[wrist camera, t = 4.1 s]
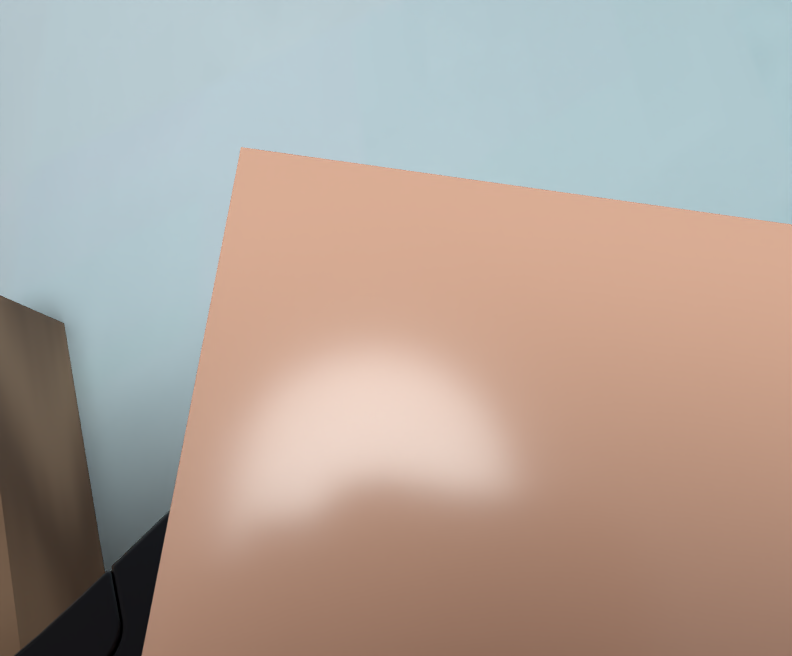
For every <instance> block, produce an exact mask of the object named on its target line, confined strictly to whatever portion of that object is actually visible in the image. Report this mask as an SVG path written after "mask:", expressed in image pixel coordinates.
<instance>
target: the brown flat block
mask: <svg viewBox="0 0 792 656" xmlns="http://www.w3.org/2000/svg"><path fill="white" fill-rule="evenodd" d="M104 573H105V571H104V564H103V558H102V552H101V546H100V540H99V534H98V528H97V522H96V516H95V509H94V503H93V497H92V491H91V485H90V479H89V473H88V467H87V461H86V454H85V448H84V442H83V436H82V430H81V424H80V418H79V412H78V406H77V399H76V393H75V387H74V381H73V375H72V369H71V363H70V357H69V351H68V345H67V338H66V332H65V326H64V323H62V322H60V321H57V320H55V319H53V318H51V317H48V316H46V315H44V314H41V313H39V312H37V311H35V310H32V309H30V308H28V307H25V306H23V305H21V304H19V303H16V302H14V301H12V300H9V299H7V298H5V297H3V296H0V656H14V655H15V654H16V653H17V652H18V651H20V650H21V649H22V648H23V647H24V646H25V645H27V644H28V643H29V642H30V641H31V640H33V639H34V638H35V637H36V636H37V635H38V634H40V633H41V632H42V631H43V630H44V629H45V628H46V627H47V626H48V625H49V624H50V623H52V622H53V621H54V620H55V619H56V618H57V617H58V616H59V615H60V614H61V613H62V612H64V611H65V610H66V609H67V608H68V607H69V606H70V605H71V604H72V603H73V602H74V601H76V600H77V599H78V598H79V597H80V596H81V595H82V594H83V593H84V592H85V591H86V590H87V589H88V588H89V587H90V586H91V585H92V584H93V583H94V582H96V581H97V580H98V579H99V578H100V577H101V576H102V575H103V574H104Z"/></svg>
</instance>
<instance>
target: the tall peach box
mask: <svg viewBox="0 0 792 656" xmlns="http://www.w3.org/2000/svg"><path fill="white" fill-rule="evenodd" d="M142 656H792V225H791V224H784V223H777V222H770V221H763V220H755V219H748V218H741V217H734V216H727V215H720V214H713V213H706V212H699V211H691V210H684V209H677V208H670V207H663V206H656V205H649V204H642V203H634V202H627V201H620V200H613V199H606V198H599V197H592V196H585V195H578V194H570V193H563V192H556V191H549V190H542V189H535V188H528V187H521V186H513V185H506V184H499V183H492V182H485V181H478V180H471V179H464V178H457V177H449V176H442V175H435V174H428V173H421V172H414V171H407V170H400V169H392V168H385V167H378V166H371V165H364V164H357V163H350V162H343V161H336V160H328V159H321V158H314V157H307V156H300V155H293V154H286V153H279V152H271V151H264V150H257V149H250V148H243V147H241V150H240V155H239V160H238V165H237V171H236V176H235V181H234V186H233V191H232V196H231V201H230V206H229V211H228V217H227V222H226V227H225V232H224V237H223V242H222V247H221V252H220V257H219V263H218V268H217V273H216V278H215V283H214V288H213V293H212V298H211V304H210V309H209V314H208V319H207V324H206V329H205V334H204V339H203V344H202V350H201V355H200V360H199V365H198V370H197V375H196V380H195V385H194V391H193V396H192V401H191V406H190V411H189V416H188V421H187V426H186V431H185V437H184V442H183V447H182V452H181V457H180V462H179V467H178V472H177V477H176V483H175V488H174V493H173V498H172V503H171V508H170V513H169V518H168V524H167V529H166V534H165V539H164V544H163V549H162V554H161V559H160V564H159V570H158V575H157V580H156V585H155V590H154V595H153V600H152V605H151V611H150V616H149V621H148V626H147V631H146V636H145V641H144V646H143V651H142Z"/></svg>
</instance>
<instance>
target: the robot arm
mask: <svg viewBox="0 0 792 656" xmlns="http://www.w3.org/2000/svg"><path fill="white" fill-rule="evenodd" d="M169 513H170V511H169V512H168V513H167V514H166V515H165V516H164V517H162V518H161V519H160V520H159V521H158V522H157V523H156V524H155V525H154V526H153V527H152V528H151V529H150V530H149V531H148V532H147V533H146V534H145V535H144V536H143V537H142V538H141V539H140V540H139V541H138V542H136V543H135V544H134V545H133V546H132V547H131V548H130V549H129V550H128V551H127V552H126V553H125V554H124V555H123V556H122V557H121V558H120V559H119V560H118V561H117V562H116V563H115V564H114V565H113V566H112V571H109V570H108V571H106V572H105V573H104V574H103V575H102V576H101V577H100V578H99V579H98V580H97V581H96V582H94V583H93V584H92V585H91V586H90V587H89V588H88V589H87V590H86V591H85V592H84V593H83V594H82V595H81V596H80V597H79V598H78V599H77V600H76V601H74V602H73V603H72V604H71V605H70V606H69V607H68V608H67V609H66V610H65V611H64V612H62V613H61V614H60V615H59V616H58V617H57V618H56V619H55V620H54V621H53V622H52V623H50V624H49V625H48V626H47V627H46V628H45V629H44V630H43V631H42V632H41V633H40V634H38V635H37V636H36V637H35V638H34V639H33V640H31V641H30V642H29V643H28V644H27V645H25V646H24V647H23V648H22V649H21V650H20V651H18V652H17V653H16V654H15V655H14V656H142V651H143V646H144V641H145V636H146V631H147V626H148V621H149V616H150V611H151V605H152V600H153V595H154V590H155V585H156V580H157V575H158V570H159V564H160V559H161V554H162V549H163V544H164V539H165V534H166V529H167V524H168V518H169Z"/></svg>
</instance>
